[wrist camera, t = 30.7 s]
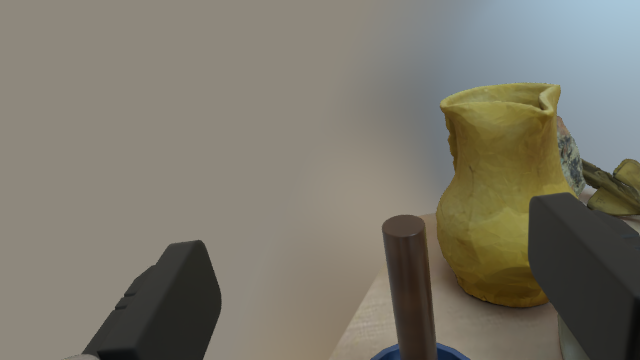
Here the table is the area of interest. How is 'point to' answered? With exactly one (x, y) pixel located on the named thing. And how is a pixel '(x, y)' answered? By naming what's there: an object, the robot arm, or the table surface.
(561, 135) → the rock
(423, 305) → the stirring stick
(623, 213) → the missile
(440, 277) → the table surface
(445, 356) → the bowl
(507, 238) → the pitcher
